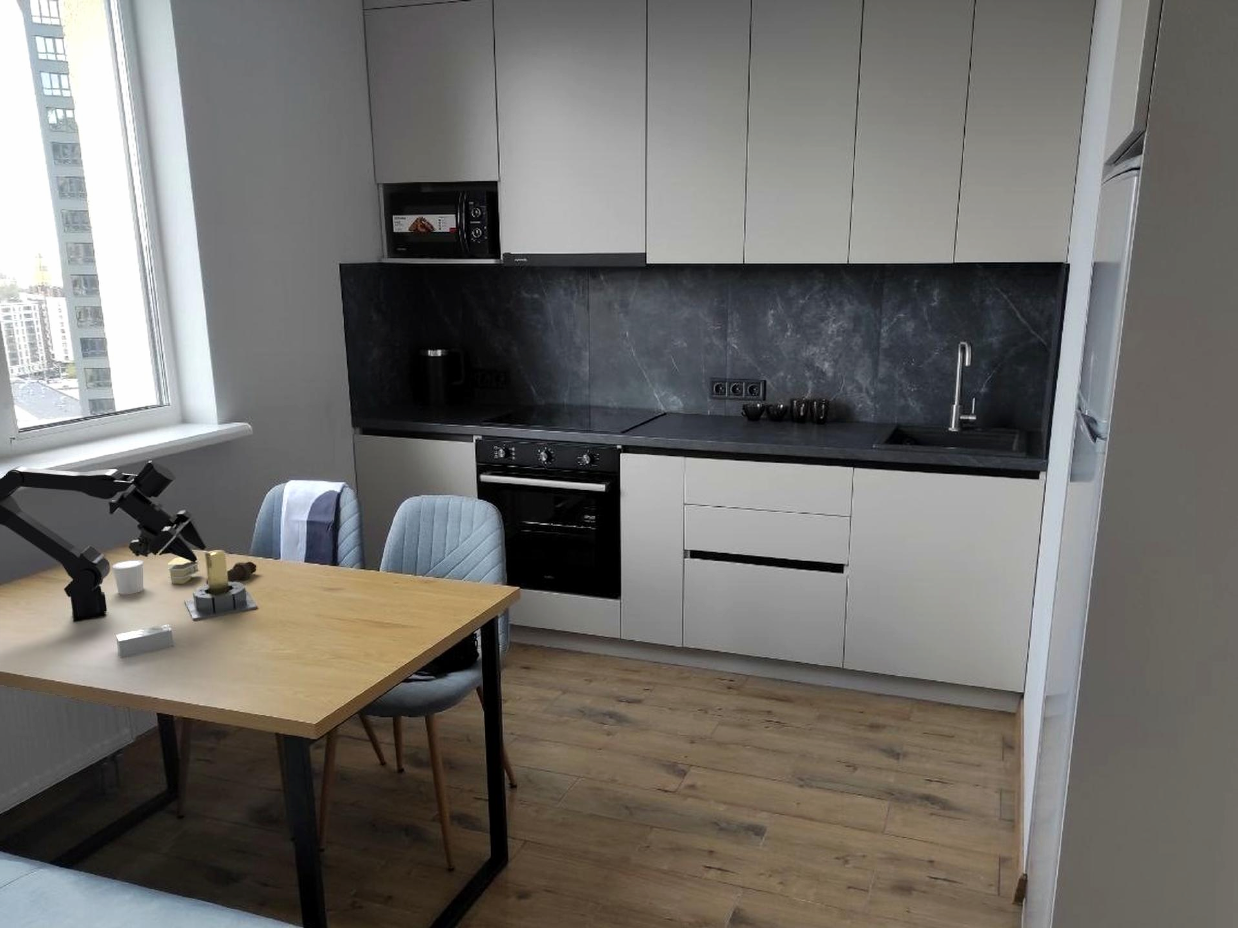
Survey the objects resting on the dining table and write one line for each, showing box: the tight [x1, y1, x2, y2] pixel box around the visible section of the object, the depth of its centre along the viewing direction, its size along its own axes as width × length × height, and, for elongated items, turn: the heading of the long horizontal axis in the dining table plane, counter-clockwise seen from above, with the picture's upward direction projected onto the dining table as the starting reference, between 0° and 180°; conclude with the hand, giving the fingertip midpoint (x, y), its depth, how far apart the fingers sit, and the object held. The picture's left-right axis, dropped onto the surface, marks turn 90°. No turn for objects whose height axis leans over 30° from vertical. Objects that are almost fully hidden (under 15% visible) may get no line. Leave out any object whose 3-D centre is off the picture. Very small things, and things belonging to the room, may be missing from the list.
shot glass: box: [112, 559, 144, 595], centre depth 232 cm, size 7×7×7 cm
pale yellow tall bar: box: [204, 549, 229, 594], centre depth 220 cm, size 4×4×12 cm
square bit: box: [115, 624, 175, 659], centre depth 196 cm, size 10×4×4 cm, turn 125°
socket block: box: [184, 581, 258, 622], centre depth 221 cm, size 14×14×4 cm
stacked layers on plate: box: [167, 556, 201, 584], centre depth 240 cm, size 10×9×6 cm
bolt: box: [205, 561, 258, 585], centre depth 237 cm, size 6×5×15 cm
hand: (200, 554), depth 219 cm, fingers open, 9 cm apart
